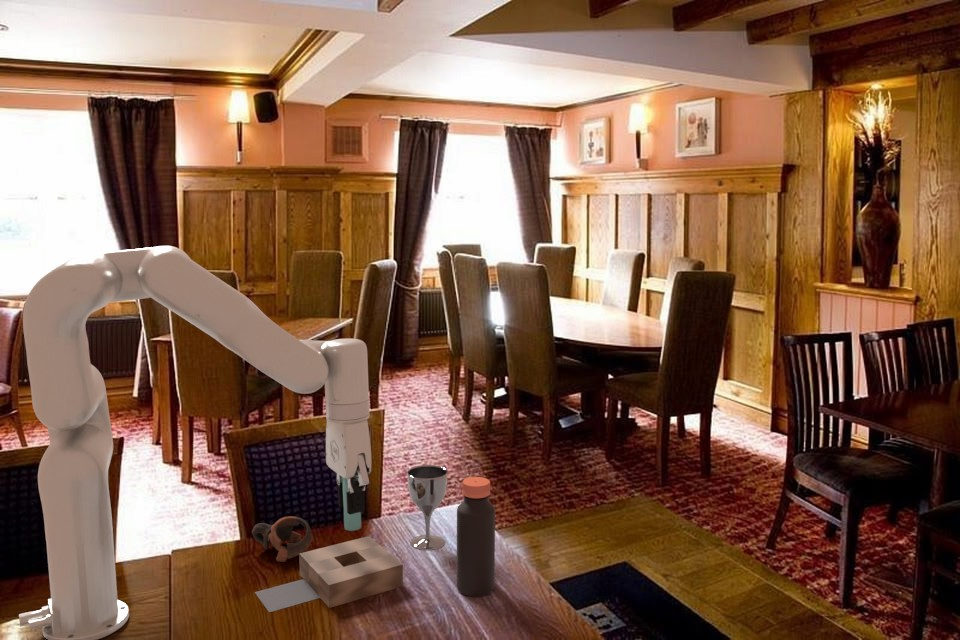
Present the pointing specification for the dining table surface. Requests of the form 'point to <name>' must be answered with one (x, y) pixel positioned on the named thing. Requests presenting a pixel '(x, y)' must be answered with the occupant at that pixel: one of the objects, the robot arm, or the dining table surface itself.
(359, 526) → the peg
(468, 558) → the bottle
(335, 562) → the hole block
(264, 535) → the brown hollow rounded piece
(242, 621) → the dining table surface
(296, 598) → the mat
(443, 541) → the wine glass
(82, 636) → the robot arm
